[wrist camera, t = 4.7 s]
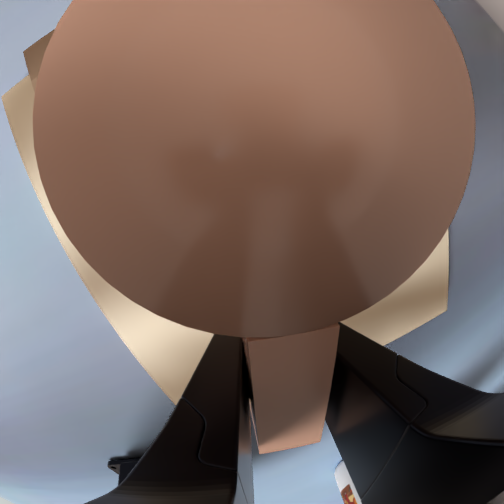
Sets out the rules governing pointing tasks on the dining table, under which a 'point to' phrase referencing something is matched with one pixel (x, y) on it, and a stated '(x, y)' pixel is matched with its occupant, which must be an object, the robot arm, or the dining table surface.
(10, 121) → the cradle
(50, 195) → the peach dome with handle
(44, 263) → the dining table surface
